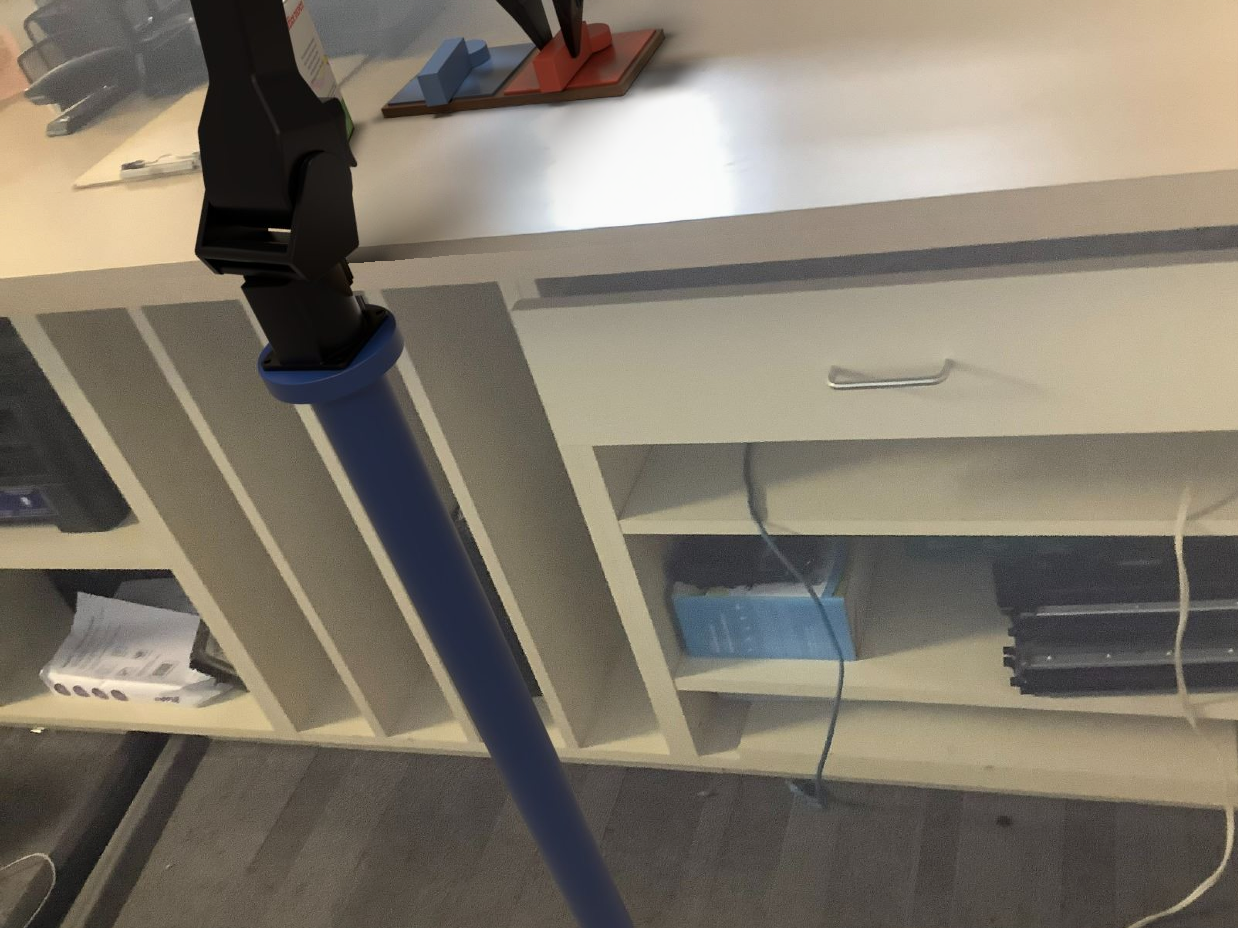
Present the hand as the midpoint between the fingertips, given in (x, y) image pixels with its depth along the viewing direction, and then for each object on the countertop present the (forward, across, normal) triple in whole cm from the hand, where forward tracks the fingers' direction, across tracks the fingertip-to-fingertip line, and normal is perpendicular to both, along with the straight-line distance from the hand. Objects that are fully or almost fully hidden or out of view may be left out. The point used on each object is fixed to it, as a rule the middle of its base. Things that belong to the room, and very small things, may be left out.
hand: (564, 57), depth 92 cm
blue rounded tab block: (+1, +11, -2) cm, 11 cm away
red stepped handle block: (+1, 0, -2) cm, 2 cm away
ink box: (+3, +20, +9) cm, 22 cm away
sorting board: (+2, +6, -3) cm, 7 cm away
